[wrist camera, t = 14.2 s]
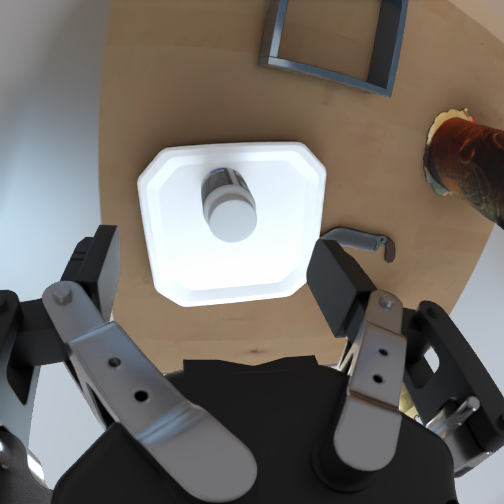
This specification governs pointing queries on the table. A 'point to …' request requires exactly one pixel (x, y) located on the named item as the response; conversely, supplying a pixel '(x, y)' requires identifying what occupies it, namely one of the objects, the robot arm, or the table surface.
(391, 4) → the square frame
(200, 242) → the plate
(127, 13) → the table surface
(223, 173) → the pill bottle
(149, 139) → the table surface
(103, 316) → the robot arm
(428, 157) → the vessel
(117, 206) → the table surface
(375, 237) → the knife
